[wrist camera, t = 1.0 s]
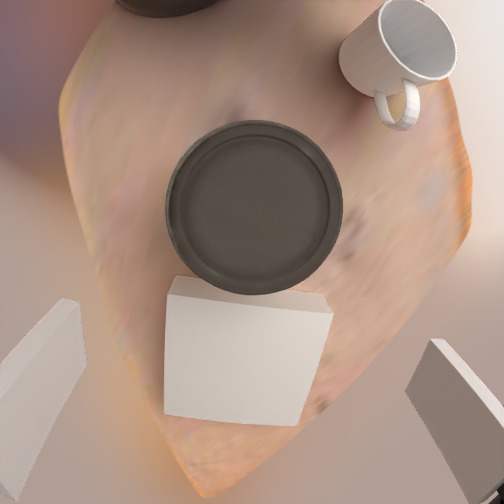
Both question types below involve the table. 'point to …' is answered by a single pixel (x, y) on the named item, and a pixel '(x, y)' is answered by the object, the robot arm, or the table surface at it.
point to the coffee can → (254, 207)
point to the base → (241, 353)
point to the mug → (398, 56)
